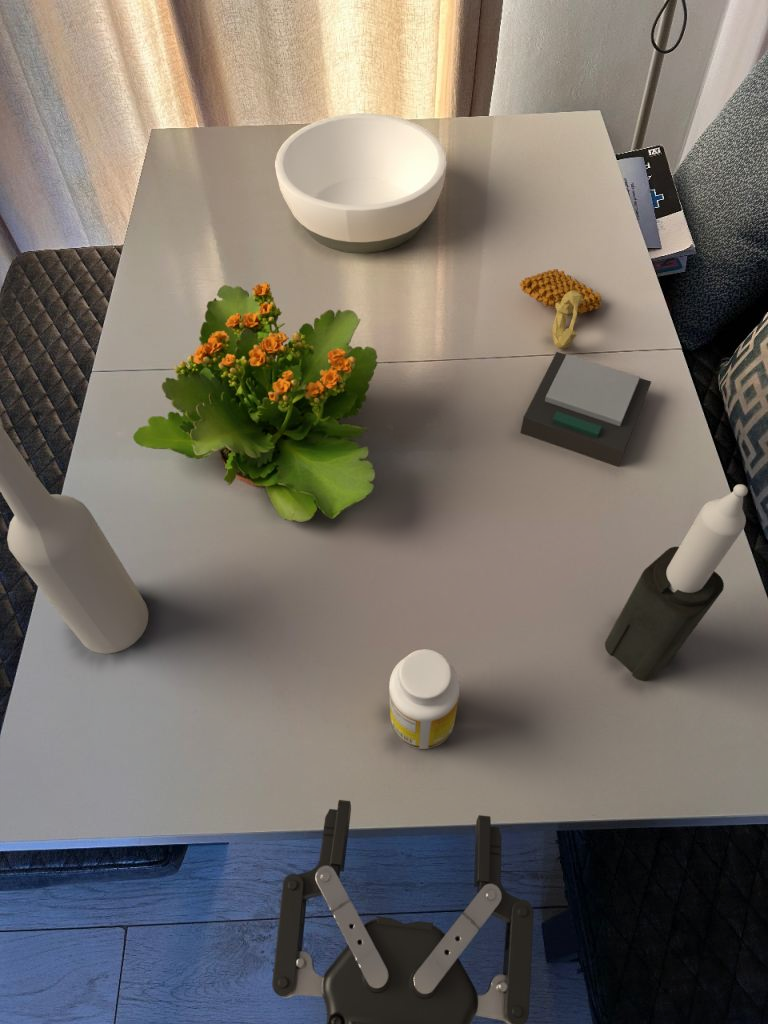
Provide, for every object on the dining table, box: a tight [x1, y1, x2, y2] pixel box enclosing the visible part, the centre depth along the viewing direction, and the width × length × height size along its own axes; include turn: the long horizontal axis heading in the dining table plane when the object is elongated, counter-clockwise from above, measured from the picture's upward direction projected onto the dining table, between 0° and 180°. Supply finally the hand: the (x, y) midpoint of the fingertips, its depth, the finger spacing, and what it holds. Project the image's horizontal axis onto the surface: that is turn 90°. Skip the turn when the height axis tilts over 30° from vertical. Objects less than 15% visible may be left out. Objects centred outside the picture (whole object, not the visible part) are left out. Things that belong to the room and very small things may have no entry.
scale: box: [520, 351, 652, 467], centre depth 84 cm, size 11×11×3 cm
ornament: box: [519, 268, 602, 349], centre depth 92 cm, size 7×10×15 cm
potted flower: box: [132, 281, 378, 523], centre depth 76 cm, size 25×24×18 cm
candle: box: [604, 483, 749, 682], centre depth 59 cm, size 5×5×25 cm
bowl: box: [274, 112, 448, 254], centre depth 103 cm, size 22×22×8 cm
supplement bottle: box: [388, 648, 461, 750], centre depth 62 cm, size 6×6×10 cm
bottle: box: [0, 417, 150, 655], centre depth 60 cm, size 7×7×28 cm
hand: (413, 810), depth 47 cm, fingers open, 8 cm apart
